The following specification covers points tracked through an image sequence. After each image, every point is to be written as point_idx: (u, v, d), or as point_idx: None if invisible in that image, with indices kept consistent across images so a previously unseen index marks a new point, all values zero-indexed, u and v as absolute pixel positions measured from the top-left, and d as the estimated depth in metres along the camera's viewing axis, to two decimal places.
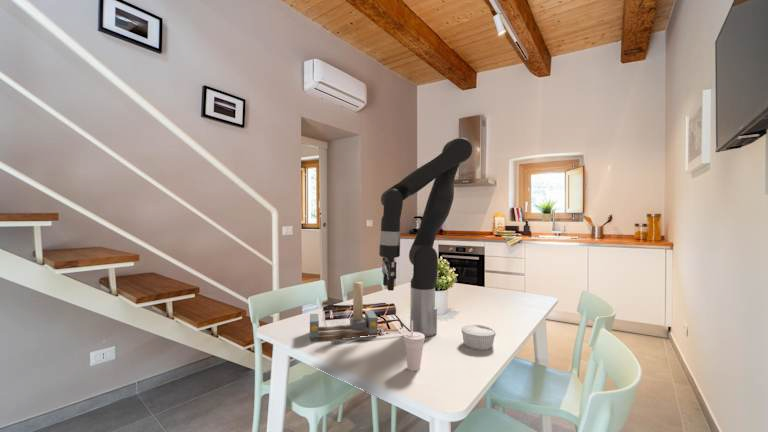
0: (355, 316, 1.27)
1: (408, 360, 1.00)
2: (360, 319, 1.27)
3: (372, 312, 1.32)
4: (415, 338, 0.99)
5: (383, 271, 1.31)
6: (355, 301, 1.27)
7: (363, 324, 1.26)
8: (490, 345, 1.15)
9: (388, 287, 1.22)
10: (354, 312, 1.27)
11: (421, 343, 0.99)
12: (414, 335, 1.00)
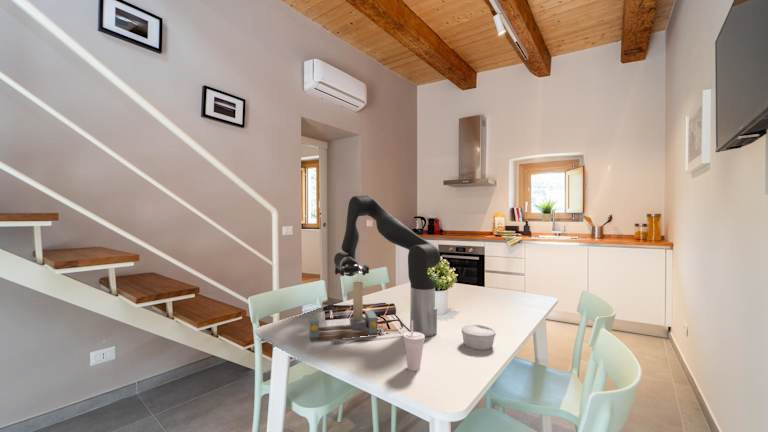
0: (355, 316, 1.27)
1: (408, 360, 1.00)
2: (360, 319, 1.27)
3: (372, 312, 1.32)
4: (415, 338, 0.99)
5: (362, 273, 1.45)
6: (355, 301, 1.27)
7: (363, 324, 1.26)
8: (490, 345, 1.15)
9: (341, 274, 1.39)
10: (354, 312, 1.27)
11: (421, 343, 0.99)
12: (414, 335, 1.00)
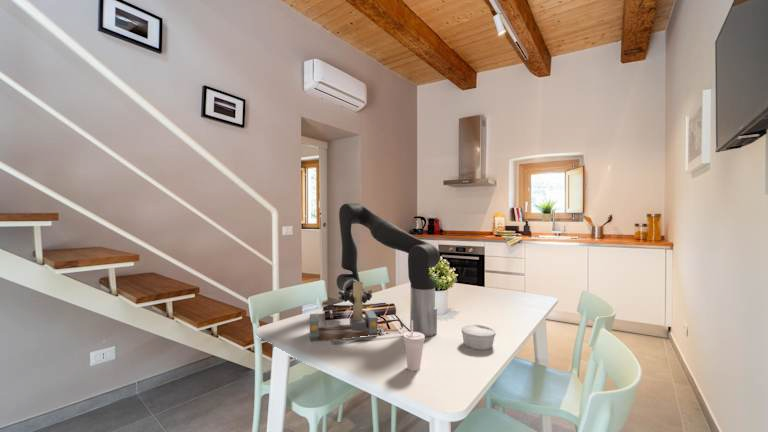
0: (355, 316, 1.27)
1: (408, 360, 1.00)
2: (360, 319, 1.27)
3: (372, 312, 1.32)
4: (415, 338, 0.99)
5: None
6: (355, 301, 1.27)
7: (363, 324, 1.26)
8: (490, 345, 1.15)
9: None
10: (354, 312, 1.27)
11: (421, 343, 0.99)
12: (414, 335, 1.00)
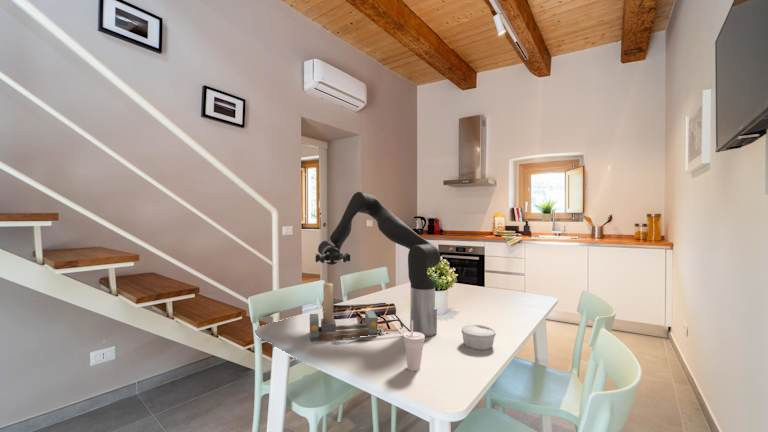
0: (325, 318, 1.25)
1: (408, 360, 1.00)
2: (330, 321, 1.25)
3: (372, 312, 1.32)
4: (415, 338, 0.99)
5: (343, 260, 1.43)
6: (325, 303, 1.25)
7: (332, 326, 1.23)
8: (490, 345, 1.15)
9: (322, 262, 1.37)
10: (324, 314, 1.25)
11: (421, 343, 0.99)
12: (414, 335, 1.00)
